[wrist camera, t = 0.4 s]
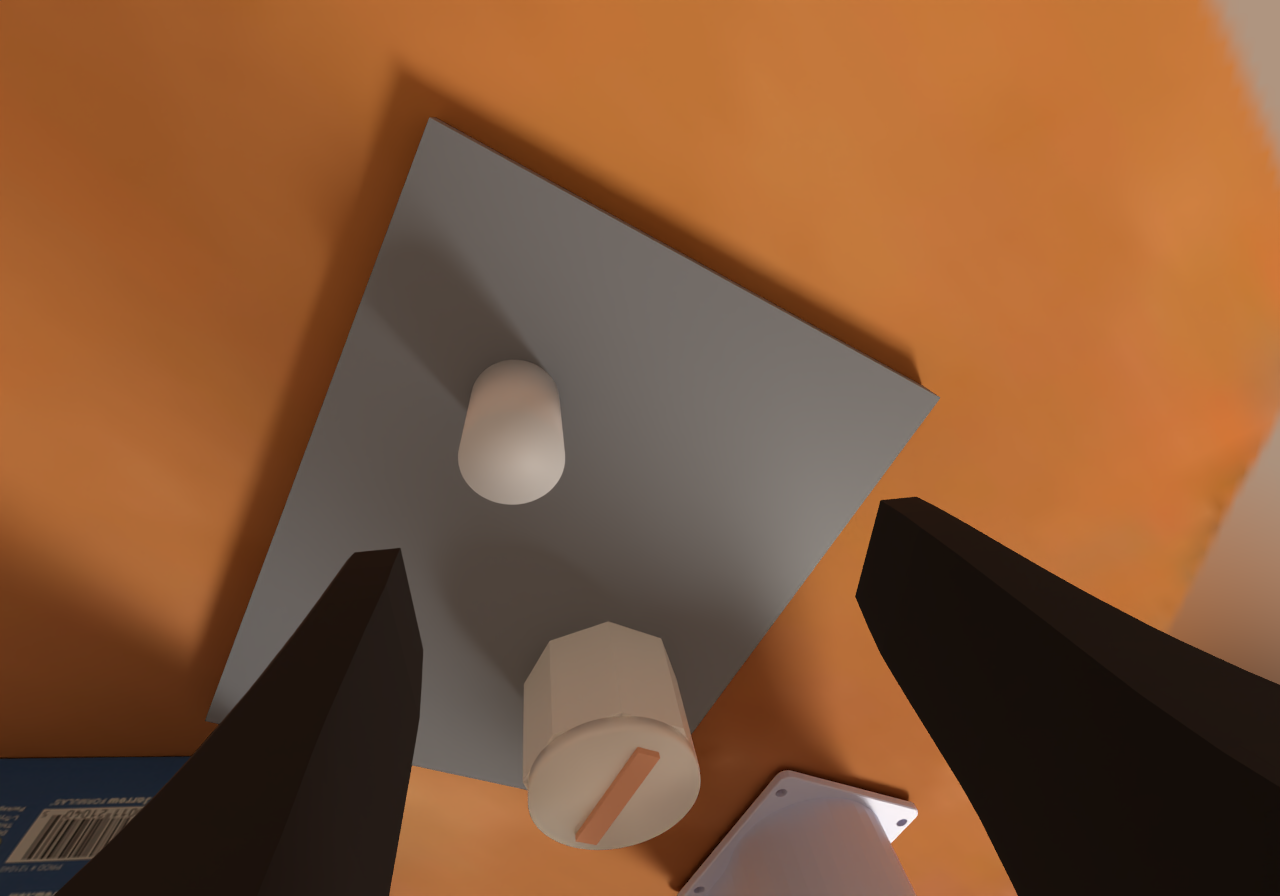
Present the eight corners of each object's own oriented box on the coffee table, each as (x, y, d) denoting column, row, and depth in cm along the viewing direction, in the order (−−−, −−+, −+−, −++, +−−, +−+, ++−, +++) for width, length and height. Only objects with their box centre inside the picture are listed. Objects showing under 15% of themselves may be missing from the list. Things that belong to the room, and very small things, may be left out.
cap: (631, 745, 25) (650, 868, 21) (504, 713, 23) (499, 840, 19) (698, 649, 23) (734, 761, 19) (567, 607, 21) (575, 721, 17)
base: (629, 790, 28) (646, 903, 24) (218, 697, 22) (149, 822, 18) (923, 385, 21) (1015, 448, 17) (435, 117, 16) (402, 116, 12)
